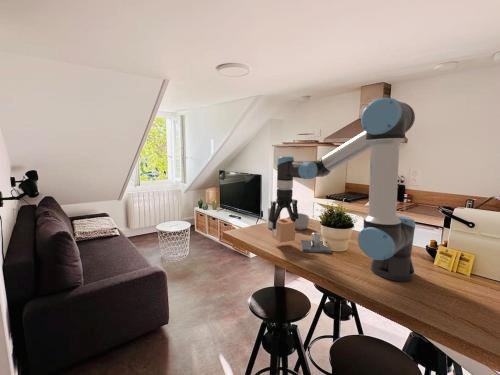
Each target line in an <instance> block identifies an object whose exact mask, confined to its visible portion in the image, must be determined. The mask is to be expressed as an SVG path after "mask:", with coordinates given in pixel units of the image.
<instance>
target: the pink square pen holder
mask: <svg viewBox="0 0 500 375" xmlns="http://www.w3.org/2000/svg"><path fill="white" fill-rule="evenodd" d="M277 223H278V236H275V235H274V229H273V228H272V230H271V233H272V234H271V235H272V239H273V240H276V241H277V242H279V243H287V242H292V241H295V237H296V236H295V235H296V229H295V222H293V221H291V219H290V218H289V219H287V217H285V218H280V219H278V220H277Z"/></svg>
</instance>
